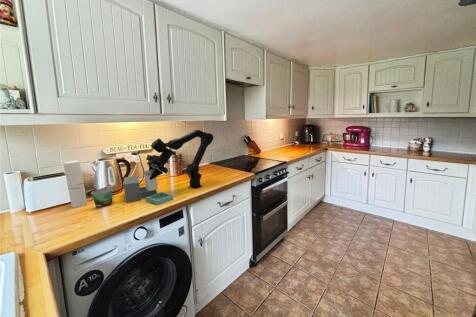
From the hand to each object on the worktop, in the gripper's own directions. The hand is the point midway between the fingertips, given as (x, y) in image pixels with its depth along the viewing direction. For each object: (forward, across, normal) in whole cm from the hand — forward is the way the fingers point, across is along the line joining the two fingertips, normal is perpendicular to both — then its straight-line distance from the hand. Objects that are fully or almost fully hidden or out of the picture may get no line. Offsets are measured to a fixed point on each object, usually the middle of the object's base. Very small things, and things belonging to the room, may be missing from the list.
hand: (148, 178), depth 127 cm
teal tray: (+7, +7, +11) cm, 14 cm away
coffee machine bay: (+10, -9, +7) cm, 16 cm away
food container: (+24, -9, -6) cm, 26 cm away
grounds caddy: (+4, 0, +6) cm, 7 cm away
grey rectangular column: (+32, -20, -14) cm, 40 cm away
